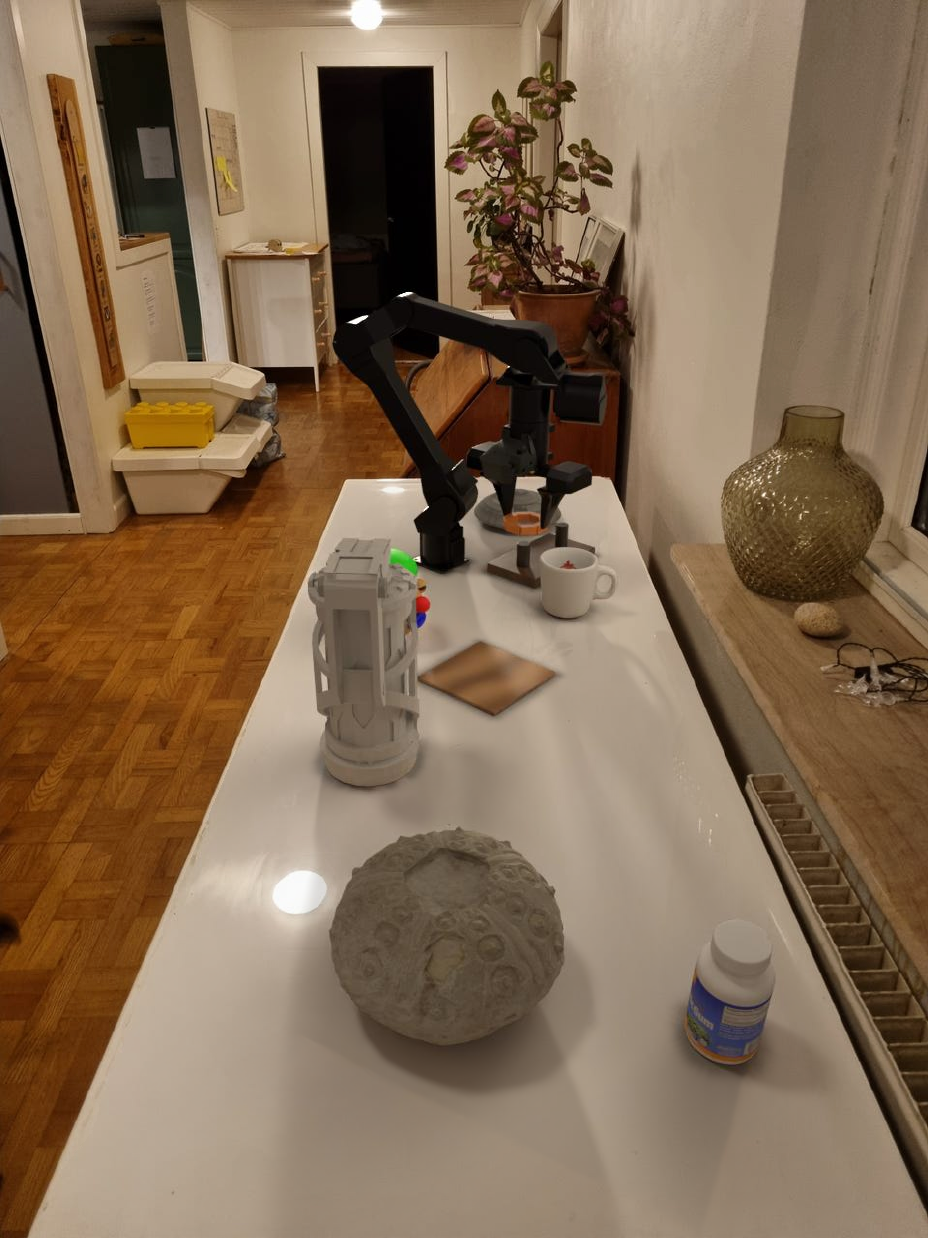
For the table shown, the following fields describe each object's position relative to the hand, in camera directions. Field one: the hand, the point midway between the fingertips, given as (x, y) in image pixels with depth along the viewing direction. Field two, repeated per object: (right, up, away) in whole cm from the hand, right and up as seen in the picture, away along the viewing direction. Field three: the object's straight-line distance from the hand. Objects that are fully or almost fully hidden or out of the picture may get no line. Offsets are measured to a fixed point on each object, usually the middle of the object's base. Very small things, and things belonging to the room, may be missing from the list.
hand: (525, 522), depth 135 cm
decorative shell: (-10, -42, -63) cm, 77 cm away
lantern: (-19, -30, -39) cm, 53 cm away
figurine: (-18, -17, -14) cm, 29 cm away
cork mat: (-6, -21, -23) cm, 32 cm away
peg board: (+3, -6, +7) cm, 10 cm away
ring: (0, -1, 0) cm, 1 cm away
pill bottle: (+10, -45, -68) cm, 82 cm away
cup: (+7, -13, -7) cm, 16 cm away
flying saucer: (0, +3, +23) cm, 24 cm away
